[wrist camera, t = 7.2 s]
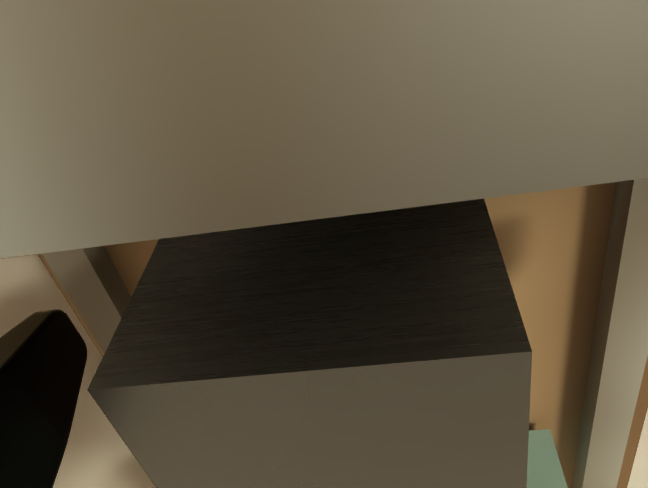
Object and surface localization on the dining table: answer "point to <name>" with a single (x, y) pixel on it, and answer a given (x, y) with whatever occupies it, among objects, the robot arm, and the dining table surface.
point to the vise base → (351, 158)
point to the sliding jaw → (543, 462)
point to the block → (326, 356)
